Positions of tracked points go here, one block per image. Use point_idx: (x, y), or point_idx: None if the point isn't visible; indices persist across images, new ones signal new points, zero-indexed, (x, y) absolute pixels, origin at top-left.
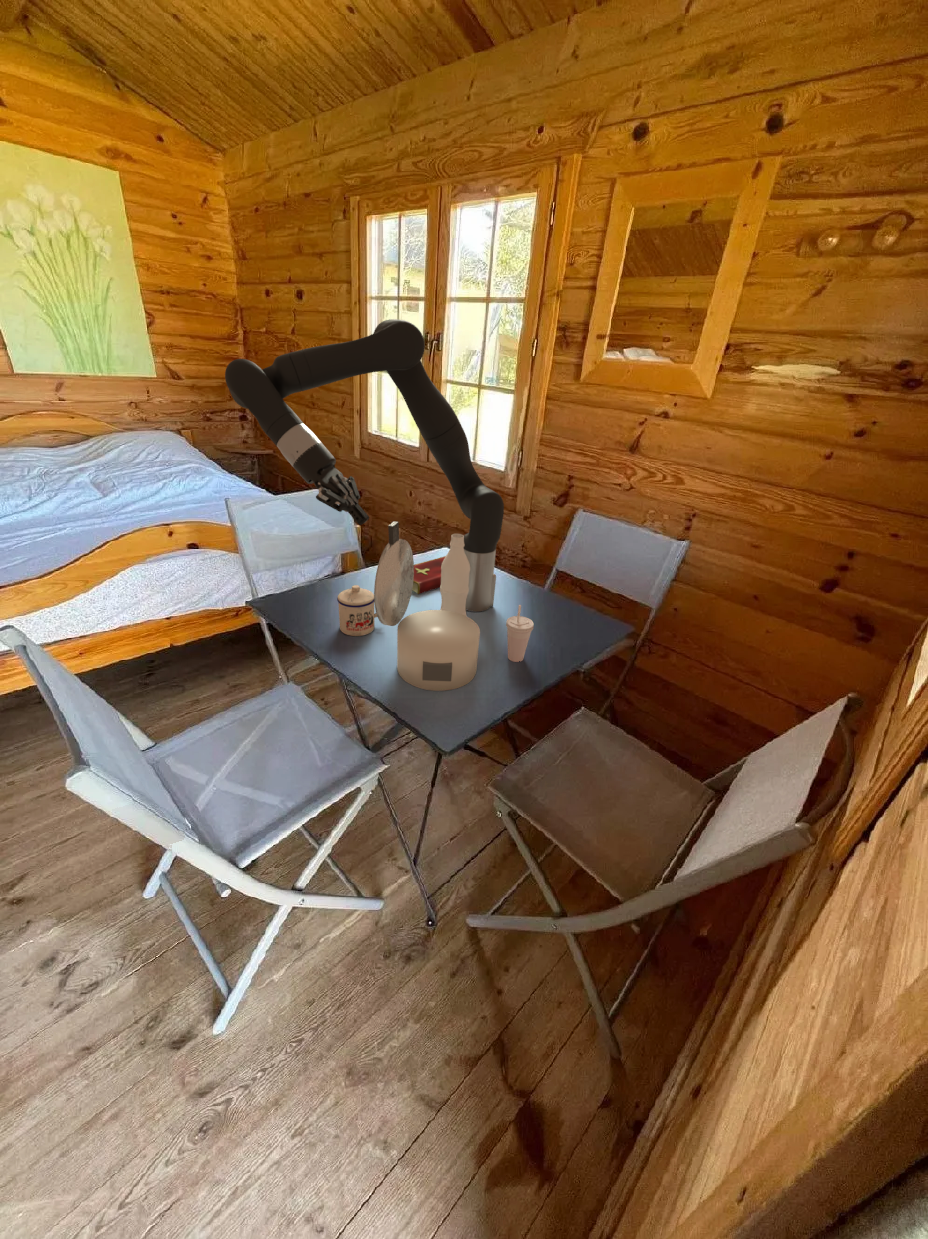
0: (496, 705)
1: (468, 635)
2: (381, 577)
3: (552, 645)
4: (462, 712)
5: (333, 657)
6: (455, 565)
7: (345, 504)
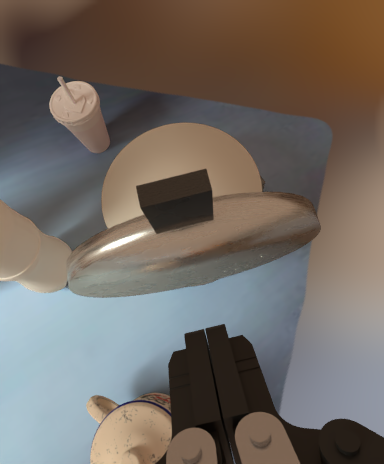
0: (222, 114)
1: (170, 140)
2: (310, 203)
3: (37, 116)
4: (263, 139)
5: (272, 394)
6: None
7: (362, 431)
